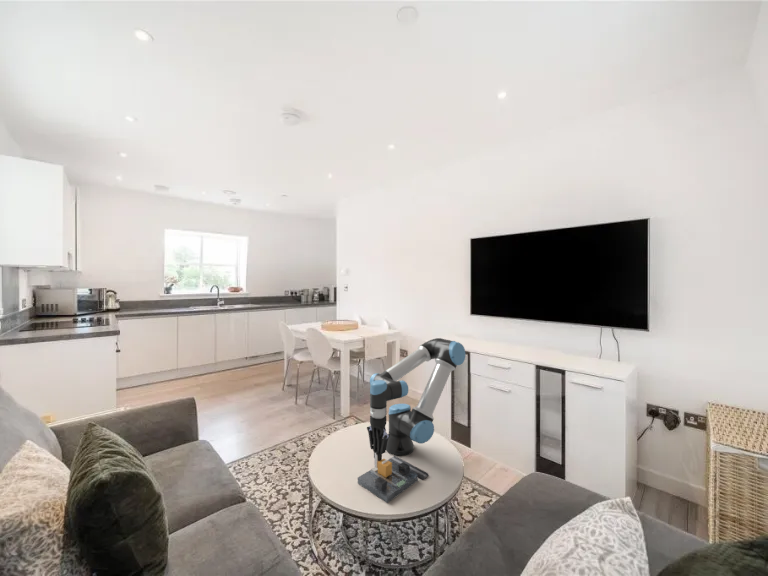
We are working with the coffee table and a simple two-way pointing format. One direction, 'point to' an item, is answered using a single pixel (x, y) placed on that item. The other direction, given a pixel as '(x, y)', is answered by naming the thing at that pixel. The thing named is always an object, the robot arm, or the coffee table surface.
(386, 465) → the slider
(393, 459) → the grey cylinders
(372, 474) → the panel
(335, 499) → the coffee table surface
